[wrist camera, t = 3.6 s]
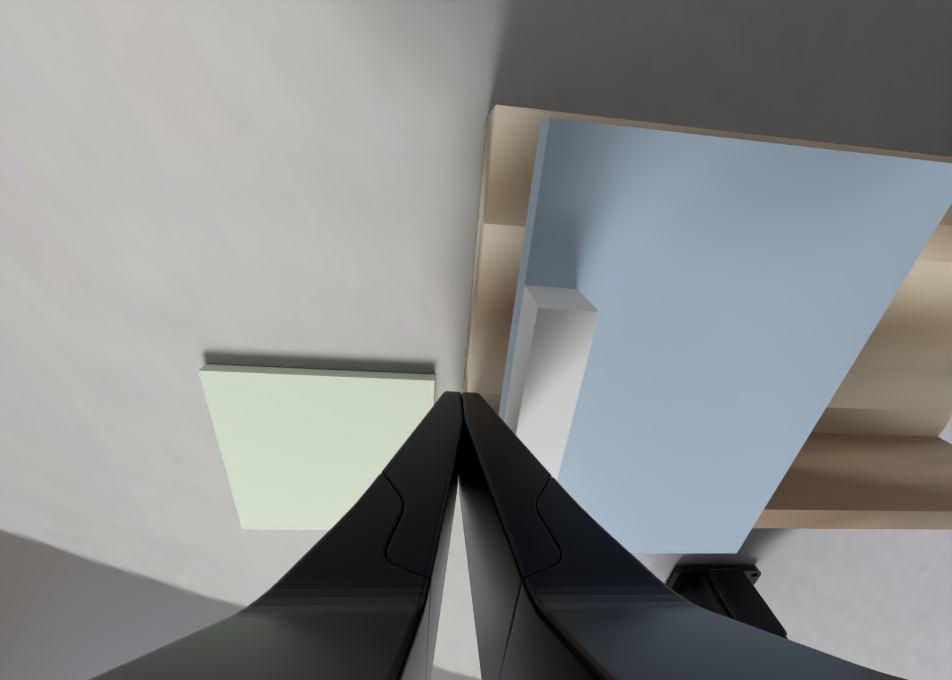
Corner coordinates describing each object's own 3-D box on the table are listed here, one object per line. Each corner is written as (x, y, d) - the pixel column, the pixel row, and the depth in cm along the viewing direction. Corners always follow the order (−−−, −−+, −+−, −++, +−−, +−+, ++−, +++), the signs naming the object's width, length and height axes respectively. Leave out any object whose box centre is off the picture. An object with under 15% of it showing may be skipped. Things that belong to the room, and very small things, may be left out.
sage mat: (428, 521, 23) (427, 530, 23) (247, 520, 22) (242, 529, 22) (435, 374, 19) (434, 380, 18) (205, 364, 18) (198, 370, 17)
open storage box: (857, 429, 22) (1035, 546, 15) (461, 415, 20) (465, 544, 13) (1029, 176, 16) (1445, 186, 9) (487, 115, 14) (521, 71, 7)
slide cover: (721, 532, 14) (767, 595, 12) (481, 531, 13) (487, 598, 11) (929, 165, 8) (1079, 166, 6) (540, 122, 7) (572, 108, 5)
